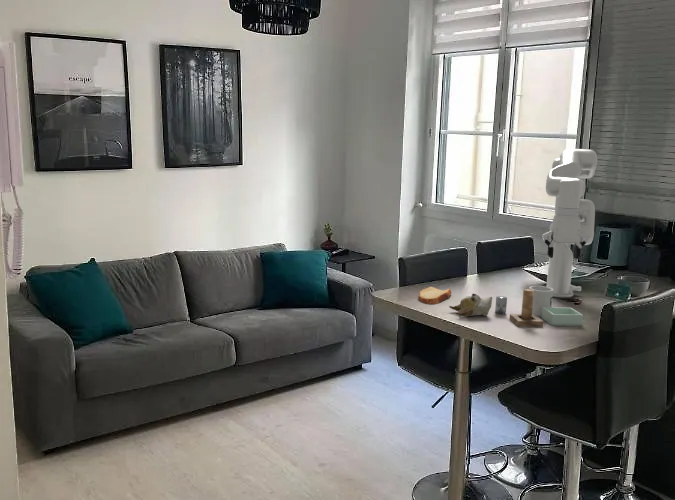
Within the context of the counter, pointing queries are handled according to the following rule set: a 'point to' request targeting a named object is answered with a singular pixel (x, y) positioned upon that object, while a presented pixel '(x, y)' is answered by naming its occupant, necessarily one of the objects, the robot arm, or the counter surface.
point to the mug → (541, 299)
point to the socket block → (526, 321)
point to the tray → (562, 316)
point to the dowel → (527, 304)
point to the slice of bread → (433, 295)
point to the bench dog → (501, 305)
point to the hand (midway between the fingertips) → (563, 257)
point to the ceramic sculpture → (473, 306)
